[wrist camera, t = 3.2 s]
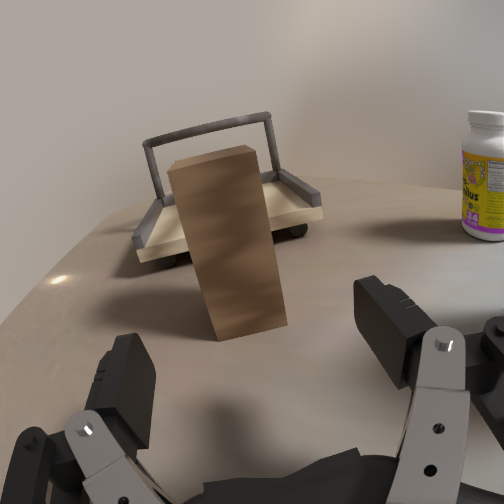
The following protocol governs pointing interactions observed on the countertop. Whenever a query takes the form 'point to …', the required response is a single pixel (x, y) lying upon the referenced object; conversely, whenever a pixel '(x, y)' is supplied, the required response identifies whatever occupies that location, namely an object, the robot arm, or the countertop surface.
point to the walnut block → (230, 240)
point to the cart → (274, 186)
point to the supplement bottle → (484, 176)
